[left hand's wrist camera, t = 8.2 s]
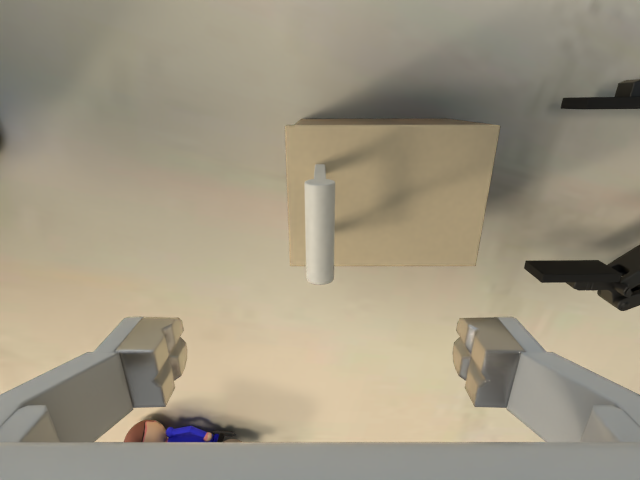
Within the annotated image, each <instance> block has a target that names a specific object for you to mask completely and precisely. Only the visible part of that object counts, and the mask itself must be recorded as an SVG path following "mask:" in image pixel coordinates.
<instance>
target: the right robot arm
mask: <svg viewBox="0 0 640 480" xmlns="http://www.w3.org/2000/svg"><path fill="white" fill-rule="evenodd" d="M561 109H640V79H637V80H626V81H623V82H621V83H618V87H617V91H616V94H615V97H591V98H563V101H562V105H561ZM524 269H526V270H527V271H528V272H529V273H531V274H532V275H533V276H534V277H535V278H537V279H538V280H539V281H540V282H542V283H544V282H566V283H567V284H568V285H570V286H571V287H573V288H574V289H577V290H598V291H597V294H598V295H599V296H600V297H602V298H603V299H604V300H606V301H607V302H609V303H610V304H612V305H613V306H614V307H616V308H617V309H619V310H621V311H625V310H628V309H631V308H634V307H636V306H639V305H640V245H639V246H637V247H635V248H634V249H632V250H631V251H629V252H627V253H626V254H624V255H622V256H621V257H619V258H618V259H616V260H614V261H613V262H611V263H610V264H608V265H606V264H604V263H602V262H600V261H599V260H567V261H526V262H525V267H524ZM621 276H622V277H621Z"/></svg>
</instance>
